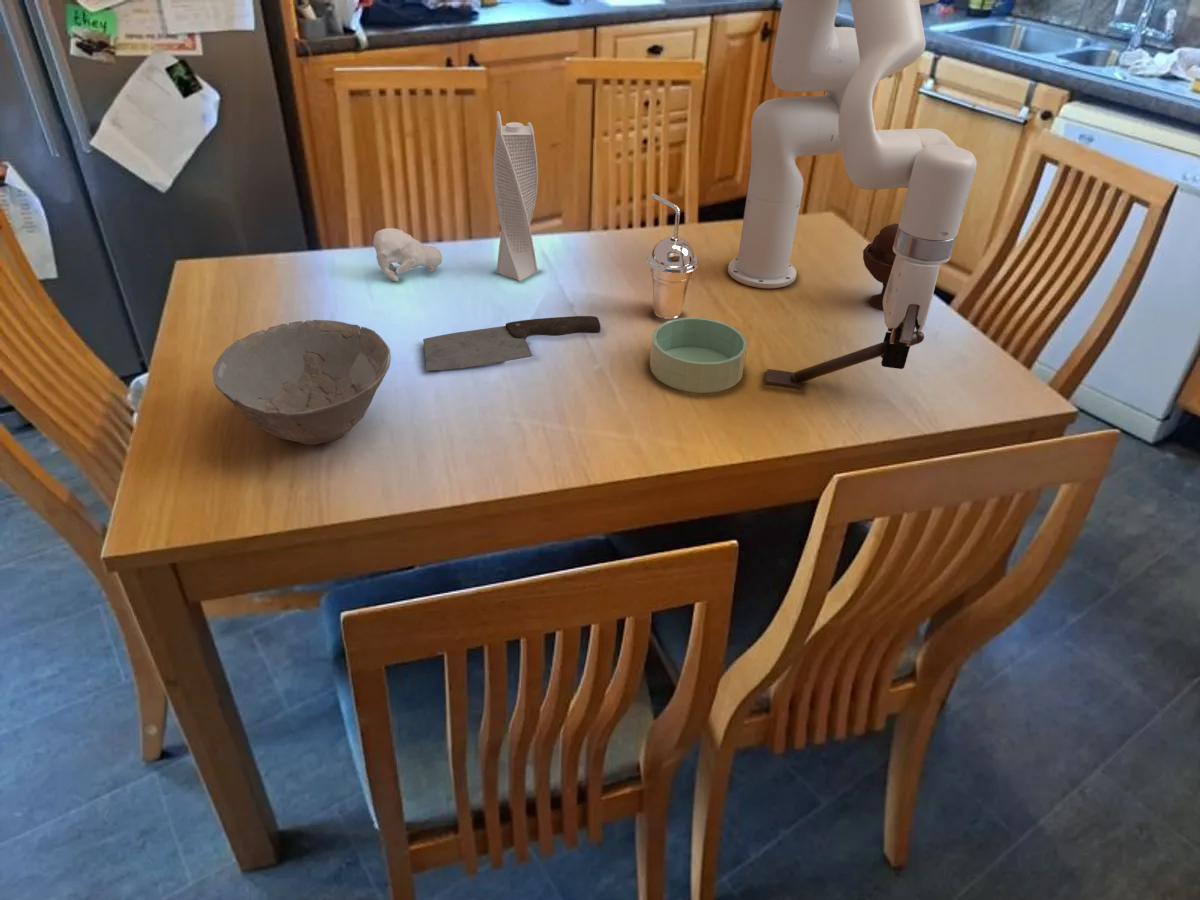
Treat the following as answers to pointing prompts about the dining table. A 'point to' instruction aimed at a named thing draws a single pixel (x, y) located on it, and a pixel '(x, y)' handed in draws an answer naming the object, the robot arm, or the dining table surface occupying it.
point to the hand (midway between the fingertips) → (891, 361)
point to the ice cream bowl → (880, 260)
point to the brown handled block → (830, 365)
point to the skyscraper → (515, 197)
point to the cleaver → (498, 341)
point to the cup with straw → (670, 270)
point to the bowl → (697, 355)
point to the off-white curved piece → (403, 252)
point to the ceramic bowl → (304, 378)
